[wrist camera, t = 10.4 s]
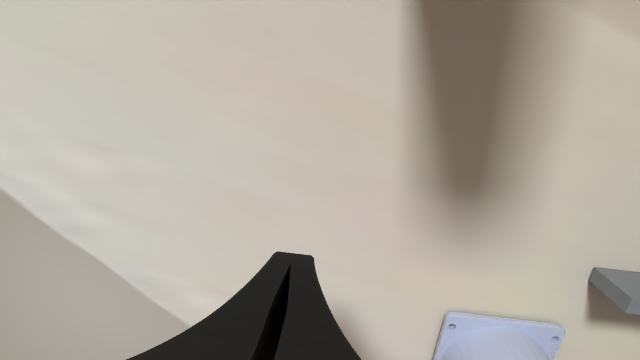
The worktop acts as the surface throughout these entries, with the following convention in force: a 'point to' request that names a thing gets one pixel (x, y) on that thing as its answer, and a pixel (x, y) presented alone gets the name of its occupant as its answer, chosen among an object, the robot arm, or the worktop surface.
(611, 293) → the grey tray
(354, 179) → the worktop surface
